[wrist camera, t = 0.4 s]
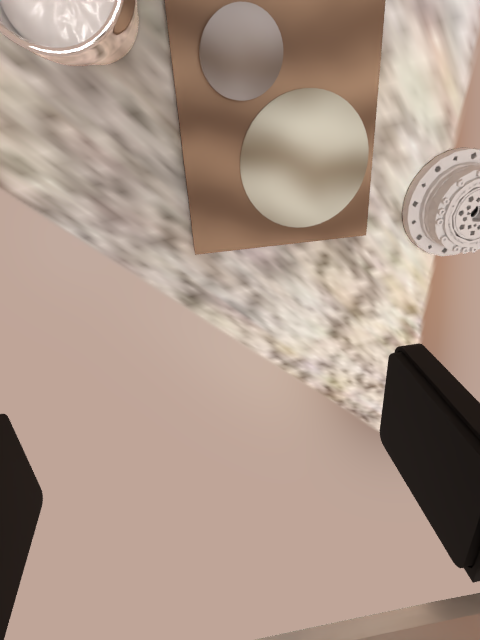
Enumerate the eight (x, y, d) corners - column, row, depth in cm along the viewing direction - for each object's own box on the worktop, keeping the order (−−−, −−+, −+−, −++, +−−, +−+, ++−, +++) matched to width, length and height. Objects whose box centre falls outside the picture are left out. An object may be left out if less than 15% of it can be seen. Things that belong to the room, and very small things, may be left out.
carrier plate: (161, -25, 30) (161, -33, 28) (381, -35, 31) (396, -43, 29) (194, 250, 39) (196, 259, 37) (360, 231, 41) (371, 239, 39)
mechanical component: (389, 250, 43) (478, 252, 45) (412, 266, 39) (508, 267, 41) (416, 143, 38) (513, 150, 40) (444, 150, 34) (551, 156, 36)
